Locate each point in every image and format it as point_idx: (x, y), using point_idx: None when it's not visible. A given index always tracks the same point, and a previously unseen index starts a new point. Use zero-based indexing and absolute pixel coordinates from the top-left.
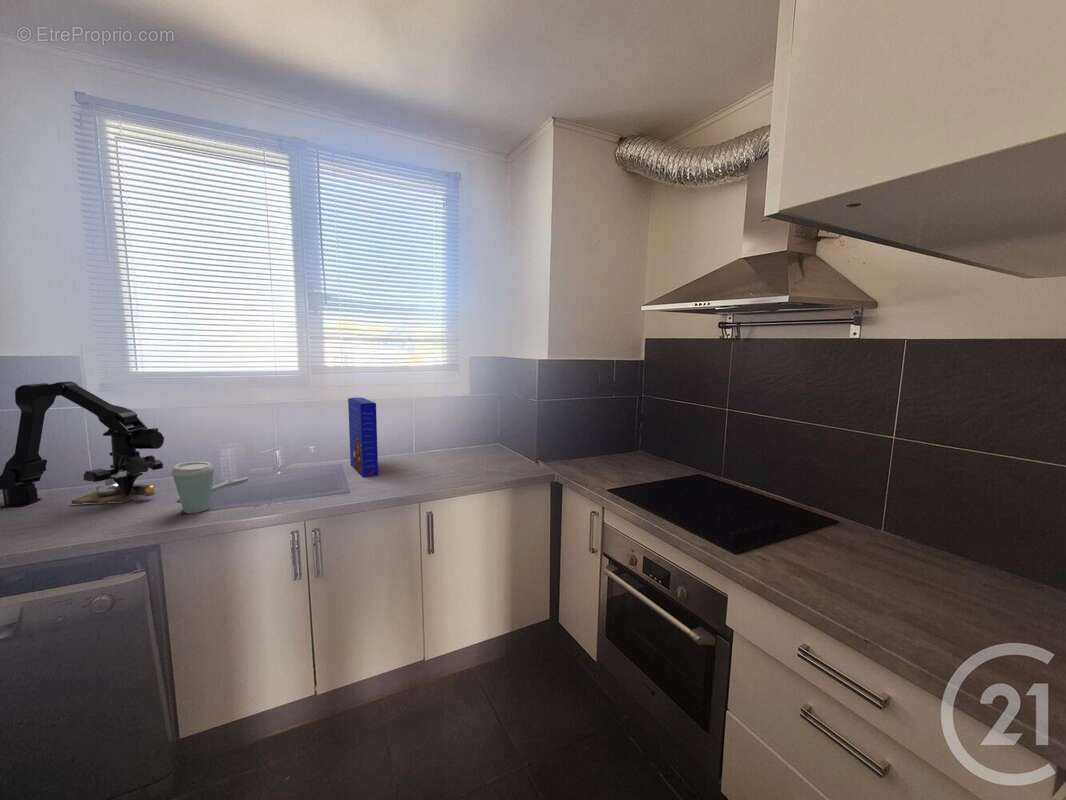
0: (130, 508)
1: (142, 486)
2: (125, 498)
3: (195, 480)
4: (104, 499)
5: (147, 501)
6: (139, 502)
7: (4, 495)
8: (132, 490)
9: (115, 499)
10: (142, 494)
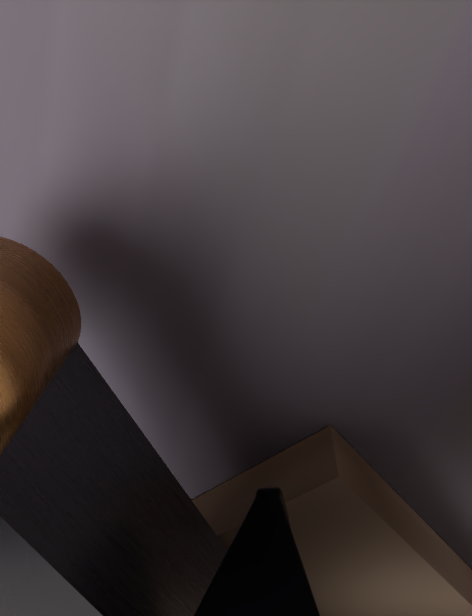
0: (407, 23)
1: (6, 517)
2: (281, 486)
3: None
4: (454, 588)
5: (97, 227)
6: (189, 277)
7: None
8: (184, 571)
9: (383, 516)
10: (100, 386)
